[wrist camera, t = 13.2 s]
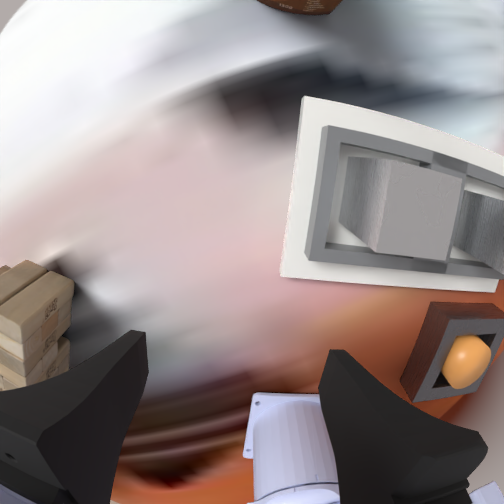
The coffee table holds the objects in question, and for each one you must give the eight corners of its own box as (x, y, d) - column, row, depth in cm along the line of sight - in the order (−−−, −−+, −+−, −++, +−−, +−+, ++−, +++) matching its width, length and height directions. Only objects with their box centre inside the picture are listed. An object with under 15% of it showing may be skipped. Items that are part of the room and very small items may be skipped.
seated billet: (485, 249, 19) (535, 278, 13) (450, 243, 19) (503, 274, 13) (496, 199, 18) (550, 217, 12) (461, 189, 18) (519, 205, 12)
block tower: (13, 244, 21) (30, 440, 28) (-54, 277, 13) (6, 480, 20) (84, 277, 22) (79, 465, 29) (23, 328, 14) (59, 511, 21)
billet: (395, 229, 19) (445, 260, 13) (338, 221, 18) (375, 252, 13) (405, 168, 17) (462, 178, 12) (348, 156, 17) (391, 159, 12)
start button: (461, 367, 23) (477, 385, 20) (427, 370, 22) (442, 391, 20) (479, 326, 21) (498, 343, 18) (445, 327, 21) (464, 347, 18)
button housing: (461, 374, 24) (475, 391, 21) (399, 380, 24) (412, 402, 21) (492, 303, 22) (511, 318, 19) (430, 301, 21) (449, 319, 19)
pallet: (488, 287, 21) (504, 299, 19) (279, 270, 20) (283, 286, 18) (515, 164, 18) (534, 168, 16) (301, 98, 17) (309, 91, 15)
